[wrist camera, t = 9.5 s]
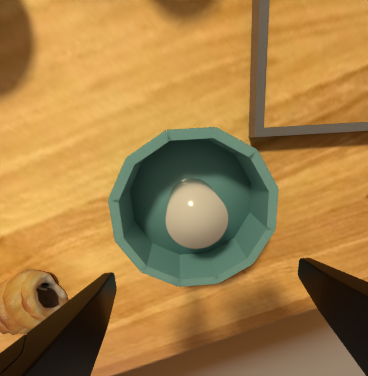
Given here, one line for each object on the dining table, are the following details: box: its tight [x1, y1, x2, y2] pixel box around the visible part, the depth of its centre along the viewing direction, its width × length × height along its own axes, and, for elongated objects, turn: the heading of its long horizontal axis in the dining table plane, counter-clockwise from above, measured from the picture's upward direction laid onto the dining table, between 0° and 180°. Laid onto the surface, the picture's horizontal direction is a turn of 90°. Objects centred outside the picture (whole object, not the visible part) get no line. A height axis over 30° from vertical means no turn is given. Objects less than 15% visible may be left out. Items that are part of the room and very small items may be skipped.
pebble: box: [166, 178, 228, 249], centre depth 17 cm, size 5×5×5 cm
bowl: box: [108, 127, 278, 287], centre depth 18 cm, size 14×14×4 cm
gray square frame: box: [249, 0, 368, 138], centre depth 16 cm, size 16×16×2 cm
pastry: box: [0, 270, 68, 335], centre depth 21 cm, size 9×7×4 cm
